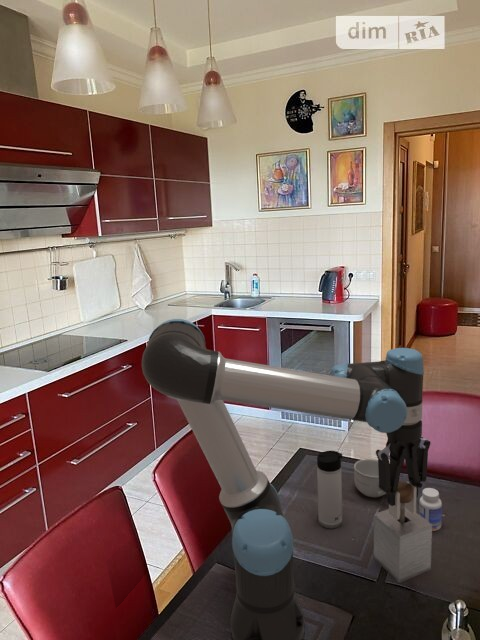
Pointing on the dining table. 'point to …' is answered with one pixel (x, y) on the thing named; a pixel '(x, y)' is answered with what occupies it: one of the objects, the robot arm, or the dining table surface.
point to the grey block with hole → (402, 544)
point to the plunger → (404, 497)
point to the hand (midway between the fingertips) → (402, 512)
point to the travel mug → (329, 489)
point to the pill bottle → (431, 507)
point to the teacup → (367, 477)
